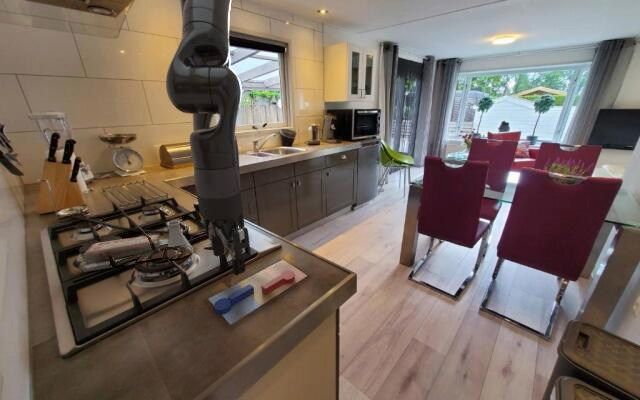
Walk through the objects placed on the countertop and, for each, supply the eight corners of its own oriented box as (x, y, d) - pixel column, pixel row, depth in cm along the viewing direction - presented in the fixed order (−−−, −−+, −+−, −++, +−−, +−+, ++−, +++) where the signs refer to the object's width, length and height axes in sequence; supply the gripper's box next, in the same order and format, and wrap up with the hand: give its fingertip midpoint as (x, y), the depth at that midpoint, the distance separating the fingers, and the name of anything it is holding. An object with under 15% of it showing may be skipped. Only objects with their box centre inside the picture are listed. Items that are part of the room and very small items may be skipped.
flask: (191, 244, 77) (185, 214, 74) (196, 255, 72) (190, 224, 68) (164, 251, 73) (156, 221, 70) (167, 263, 68) (159, 231, 64)
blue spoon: (248, 288, 59) (247, 281, 58) (256, 295, 57) (256, 288, 56) (211, 308, 53) (210, 301, 52) (219, 317, 51) (218, 310, 50)
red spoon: (268, 297, 56) (267, 291, 55) (259, 290, 58) (258, 283, 58) (297, 279, 62) (297, 273, 61) (288, 273, 64) (288, 267, 64)
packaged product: (76, 257, 62) (93, 238, 70) (83, 274, 64) (98, 253, 72) (160, 244, 68) (166, 228, 77) (164, 259, 70) (169, 241, 78)
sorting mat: (230, 327, 49) (230, 324, 49) (208, 300, 56) (208, 298, 55) (307, 277, 64) (307, 275, 63) (282, 261, 70) (282, 259, 70)
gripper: (258, 194, 43) (264, 271, 50) (220, 176, 52) (229, 243, 59) (216, 206, 38) (228, 289, 44) (182, 184, 47) (196, 255, 54)
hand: (229, 263), depth 52 cm, fingers open, 8 cm apart
